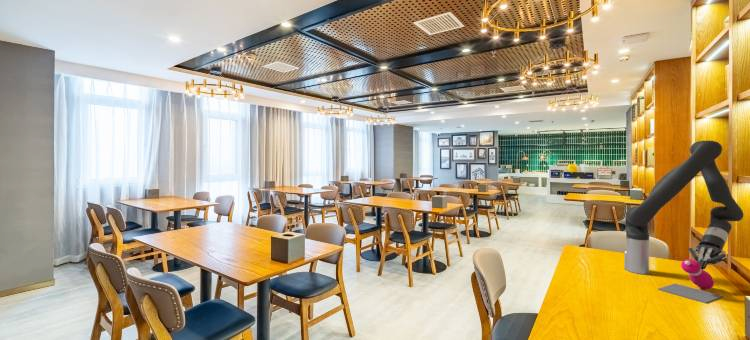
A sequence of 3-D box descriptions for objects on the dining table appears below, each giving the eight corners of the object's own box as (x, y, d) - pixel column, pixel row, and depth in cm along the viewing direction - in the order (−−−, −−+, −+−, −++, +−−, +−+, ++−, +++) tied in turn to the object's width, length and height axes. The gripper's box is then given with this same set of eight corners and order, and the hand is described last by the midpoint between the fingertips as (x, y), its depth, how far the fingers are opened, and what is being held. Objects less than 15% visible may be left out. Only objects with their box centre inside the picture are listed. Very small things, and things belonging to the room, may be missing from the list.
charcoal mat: (657, 289, 145) (657, 288, 145) (675, 284, 151) (675, 283, 151) (706, 303, 131) (706, 302, 131) (723, 297, 137) (723, 295, 137)
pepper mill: (720, 284, 142) (703, 263, 135) (704, 293, 145) (686, 273, 137) (705, 271, 148) (687, 251, 141) (689, 280, 151) (671, 260, 144)
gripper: (692, 231, 155) (677, 259, 150) (731, 236, 143) (717, 267, 137) (697, 241, 157) (683, 269, 152) (736, 248, 145) (723, 278, 140)
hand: (699, 268), depth 145 cm, fingers closed
